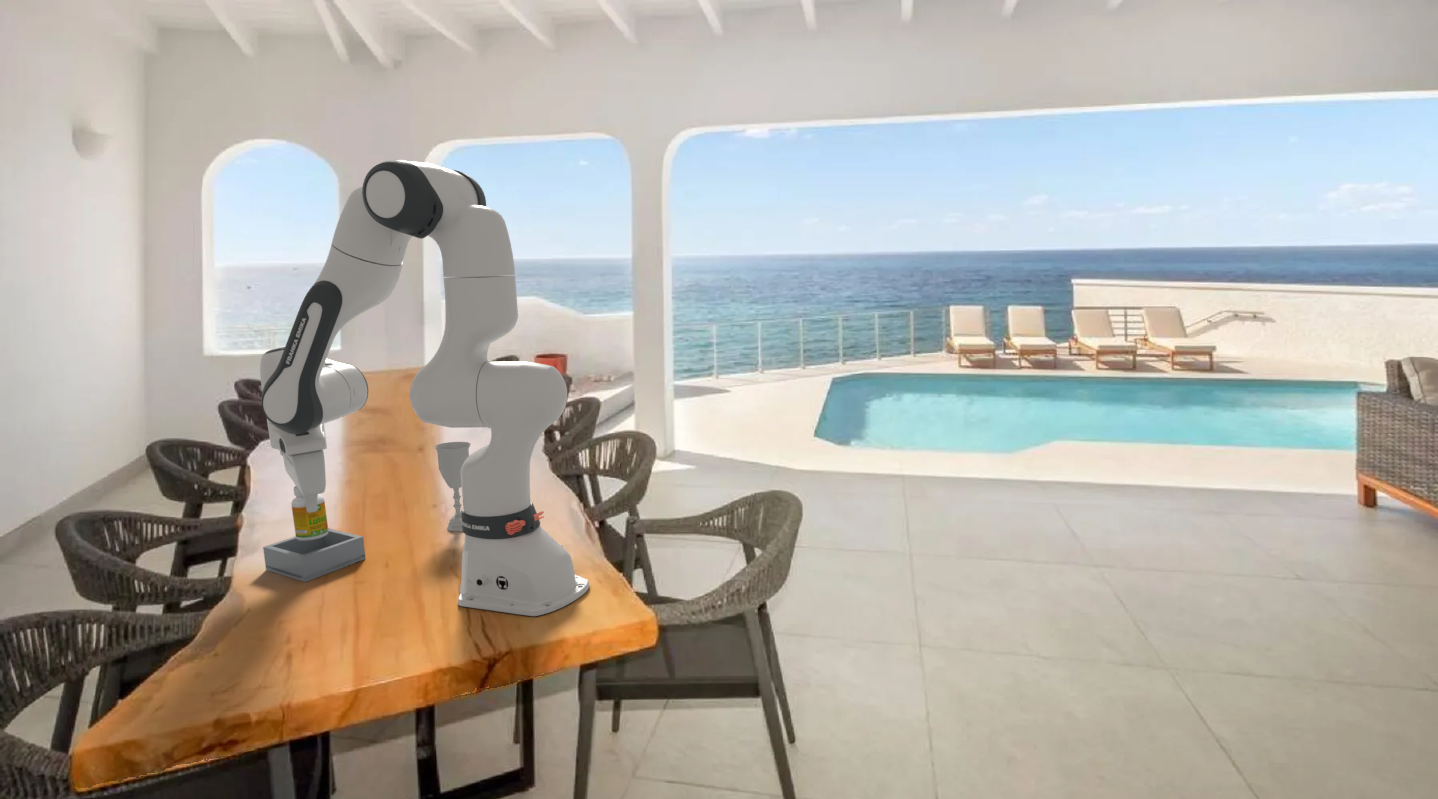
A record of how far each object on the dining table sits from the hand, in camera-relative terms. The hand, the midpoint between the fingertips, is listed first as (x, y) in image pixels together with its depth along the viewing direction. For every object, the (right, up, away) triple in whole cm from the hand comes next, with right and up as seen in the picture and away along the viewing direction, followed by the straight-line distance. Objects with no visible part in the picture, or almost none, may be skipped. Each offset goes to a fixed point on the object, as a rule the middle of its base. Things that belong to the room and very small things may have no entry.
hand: (308, 506), depth 139 cm
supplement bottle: (0, -6, +1) cm, 6 cm away
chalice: (+21, -8, +21) cm, 31 cm away
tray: (0, -11, +2) cm, 12 cm away
